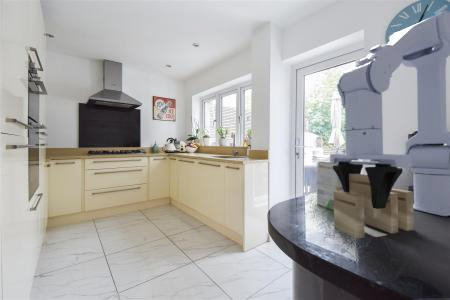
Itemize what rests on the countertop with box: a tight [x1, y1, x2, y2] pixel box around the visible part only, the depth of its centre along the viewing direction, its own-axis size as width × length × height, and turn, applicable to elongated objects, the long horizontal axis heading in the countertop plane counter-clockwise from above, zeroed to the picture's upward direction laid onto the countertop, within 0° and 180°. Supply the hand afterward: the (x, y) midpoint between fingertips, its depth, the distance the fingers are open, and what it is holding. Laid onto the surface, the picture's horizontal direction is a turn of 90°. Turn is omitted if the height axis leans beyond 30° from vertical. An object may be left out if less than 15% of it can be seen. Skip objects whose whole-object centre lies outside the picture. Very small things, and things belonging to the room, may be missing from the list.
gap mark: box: [364, 225, 387, 238], centre depth 38 cm, size 3×6×1 cm, turn 15°
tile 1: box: [391, 187, 415, 232], centre depth 40 cm, size 2×5×7 cm, turn 15°
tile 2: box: [365, 192, 399, 234], centre depth 39 cm, size 2×5×7 cm, turn 15°
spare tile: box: [349, 173, 381, 217], centre depth 38 cm, size 2×5×7 cm, turn 15°
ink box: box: [316, 161, 344, 212], centre depth 54 cm, size 9×5×12 cm, turn 9°
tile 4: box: [333, 191, 366, 240], centre depth 37 cm, size 2×5×7 cm, turn 15°
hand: (364, 204), depth 38 cm, fingers closed on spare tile, 5 cm apart
